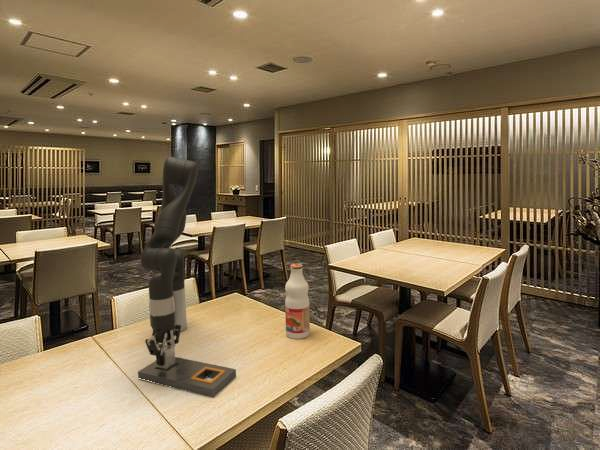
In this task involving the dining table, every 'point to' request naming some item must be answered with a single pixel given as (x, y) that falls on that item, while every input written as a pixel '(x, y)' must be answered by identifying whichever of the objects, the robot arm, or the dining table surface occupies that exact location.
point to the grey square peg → (168, 358)
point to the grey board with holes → (190, 376)
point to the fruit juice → (297, 304)
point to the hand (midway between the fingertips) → (165, 361)
